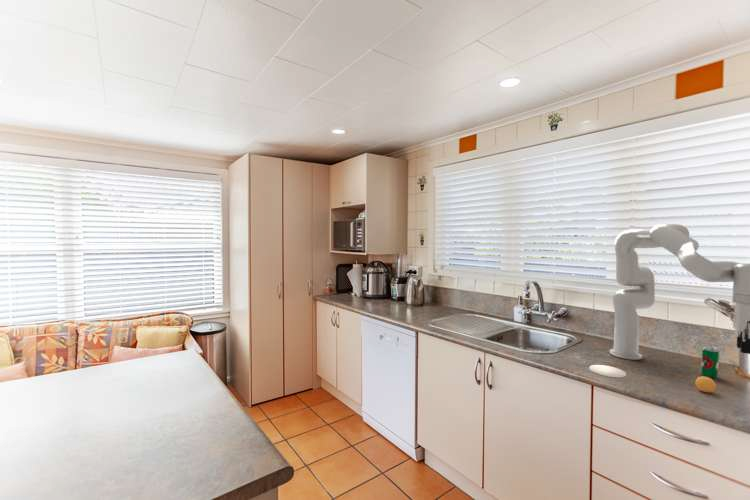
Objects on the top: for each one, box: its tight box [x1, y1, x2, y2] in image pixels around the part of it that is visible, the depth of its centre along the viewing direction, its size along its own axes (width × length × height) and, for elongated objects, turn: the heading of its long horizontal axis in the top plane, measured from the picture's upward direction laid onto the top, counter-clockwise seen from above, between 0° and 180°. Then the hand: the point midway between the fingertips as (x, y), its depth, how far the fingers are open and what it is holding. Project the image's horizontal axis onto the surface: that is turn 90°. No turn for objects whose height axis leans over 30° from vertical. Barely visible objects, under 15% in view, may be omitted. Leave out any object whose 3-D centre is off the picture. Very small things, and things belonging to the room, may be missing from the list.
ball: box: [695, 375, 717, 393], centre depth 127 cm, size 6×6×6 cm
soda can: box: [700, 345, 720, 379], centre depth 140 cm, size 5×5×12 cm
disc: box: [588, 364, 627, 379], centre depth 145 cm, size 13×13×1 cm
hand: (745, 350), depth 120 cm, fingers open, 5 cm apart
